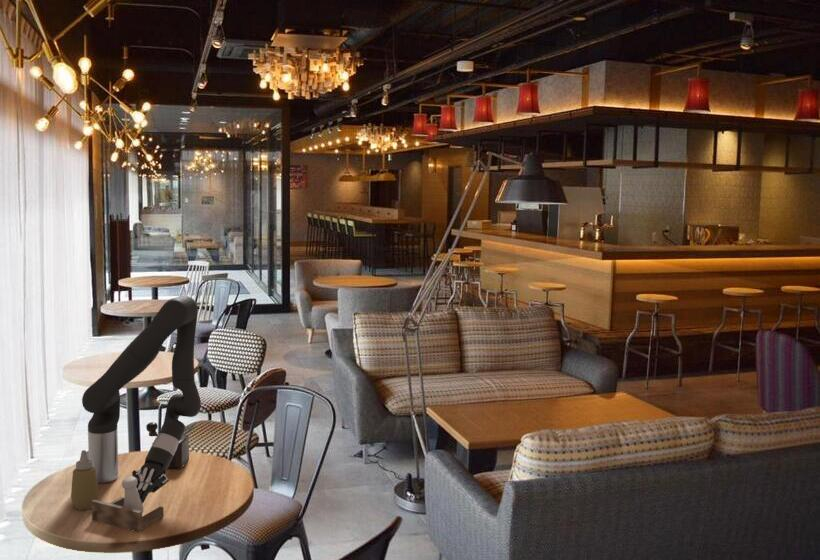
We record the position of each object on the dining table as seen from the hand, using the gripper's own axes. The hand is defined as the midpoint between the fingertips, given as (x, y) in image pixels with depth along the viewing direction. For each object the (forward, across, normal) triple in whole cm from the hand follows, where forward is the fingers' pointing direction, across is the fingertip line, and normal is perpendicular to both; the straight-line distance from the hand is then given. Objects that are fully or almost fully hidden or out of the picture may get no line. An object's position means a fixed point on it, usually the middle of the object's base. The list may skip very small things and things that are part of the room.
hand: (137, 503), depth 226 cm
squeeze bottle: (+4, -19, +2) cm, 20 cm away
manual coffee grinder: (-22, -17, +28) cm, 40 cm away
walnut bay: (+5, -1, +1) cm, 5 cm away
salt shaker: (+4, 0, +2) cm, 4 cm away
